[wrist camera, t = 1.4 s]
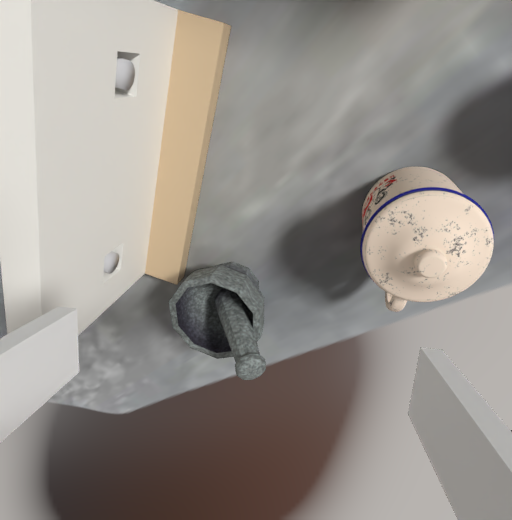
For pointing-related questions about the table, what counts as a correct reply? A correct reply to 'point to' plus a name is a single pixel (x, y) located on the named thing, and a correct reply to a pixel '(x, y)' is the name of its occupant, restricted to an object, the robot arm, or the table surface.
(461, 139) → the table surface
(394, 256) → the teacup with lid
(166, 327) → the table surface
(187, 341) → the mortar and pestle
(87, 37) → the button panel
